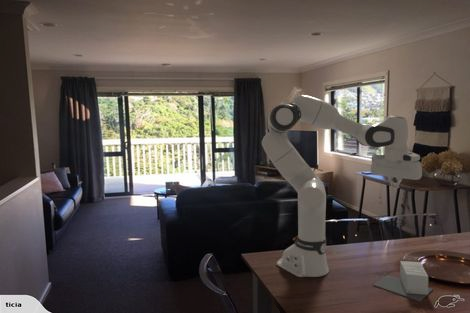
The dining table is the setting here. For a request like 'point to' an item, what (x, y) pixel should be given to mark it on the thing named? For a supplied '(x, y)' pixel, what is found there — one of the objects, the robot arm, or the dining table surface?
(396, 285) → the mat
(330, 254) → the dining table surface
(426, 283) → the supplement box
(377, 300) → the dining table surface
